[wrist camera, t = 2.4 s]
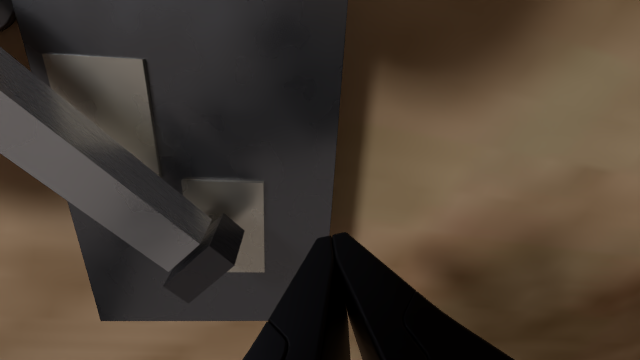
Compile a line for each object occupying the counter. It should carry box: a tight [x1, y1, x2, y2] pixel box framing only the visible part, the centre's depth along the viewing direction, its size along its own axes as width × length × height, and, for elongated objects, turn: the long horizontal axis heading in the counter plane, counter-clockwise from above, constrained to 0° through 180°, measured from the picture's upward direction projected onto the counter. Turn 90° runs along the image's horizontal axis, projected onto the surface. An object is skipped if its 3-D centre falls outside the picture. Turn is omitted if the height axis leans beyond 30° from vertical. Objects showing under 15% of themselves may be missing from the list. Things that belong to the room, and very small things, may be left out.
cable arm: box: [0, 47, 245, 304], centre depth 12 cm, size 16×3×5 cm, turn 42°
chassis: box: [12, 0, 348, 321], centre depth 16 cm, size 16×12×2 cm
